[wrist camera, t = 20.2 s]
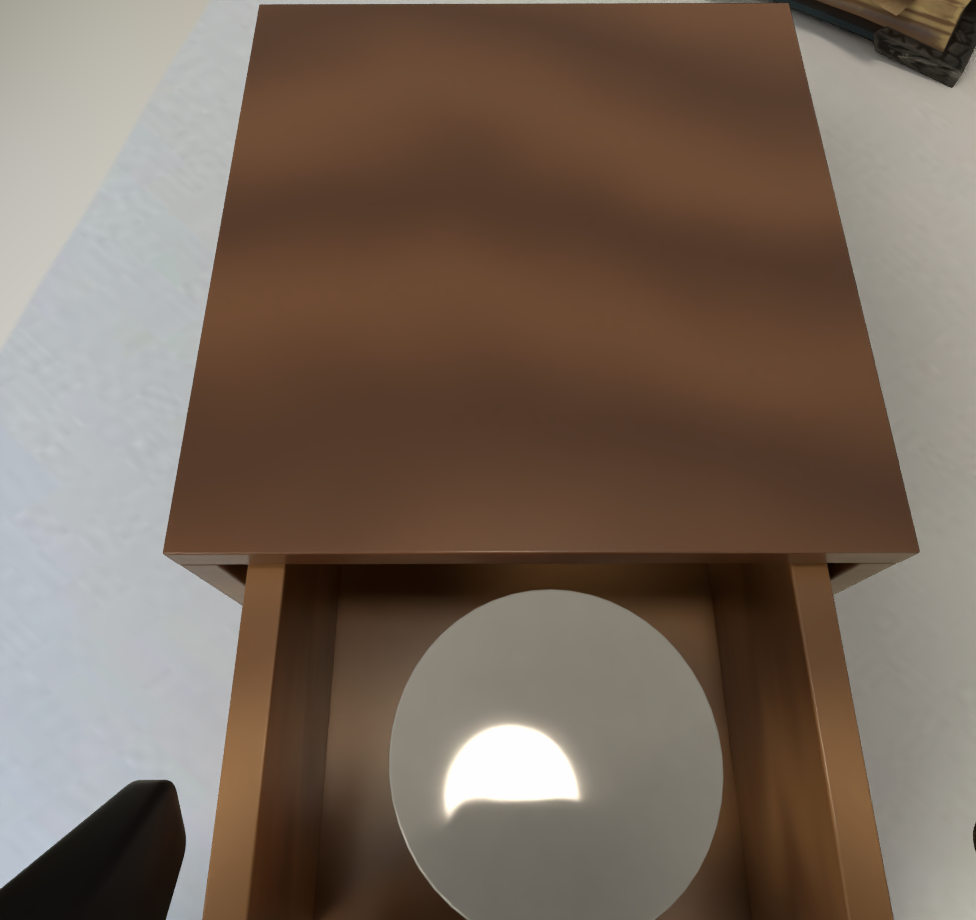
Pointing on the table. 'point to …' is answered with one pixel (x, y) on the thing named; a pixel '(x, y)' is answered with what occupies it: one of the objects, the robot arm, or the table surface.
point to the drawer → (399, 647)
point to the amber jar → (555, 763)
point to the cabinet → (533, 302)
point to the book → (907, 30)
